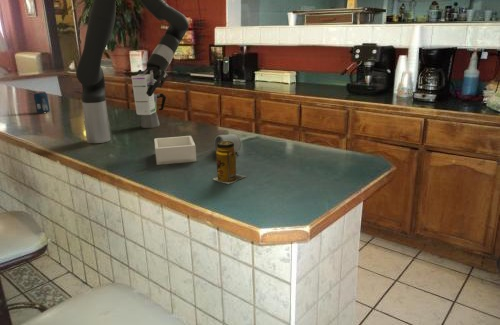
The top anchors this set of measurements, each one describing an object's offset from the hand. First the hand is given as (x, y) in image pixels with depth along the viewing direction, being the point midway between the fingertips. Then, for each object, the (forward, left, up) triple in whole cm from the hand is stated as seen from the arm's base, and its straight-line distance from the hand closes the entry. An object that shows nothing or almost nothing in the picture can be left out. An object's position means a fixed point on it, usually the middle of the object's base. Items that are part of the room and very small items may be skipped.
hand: (141, 94), depth 147 cm
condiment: (+25, -37, -23) cm, 50 cm away
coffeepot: (+3, +45, -23) cm, 51 cm away
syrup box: (+1, +1, -8) cm, 8 cm away
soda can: (-58, +98, -23) cm, 116 cm away
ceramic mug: (+29, -9, -23) cm, 39 cm away
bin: (+10, -10, -23) cm, 27 cm away
